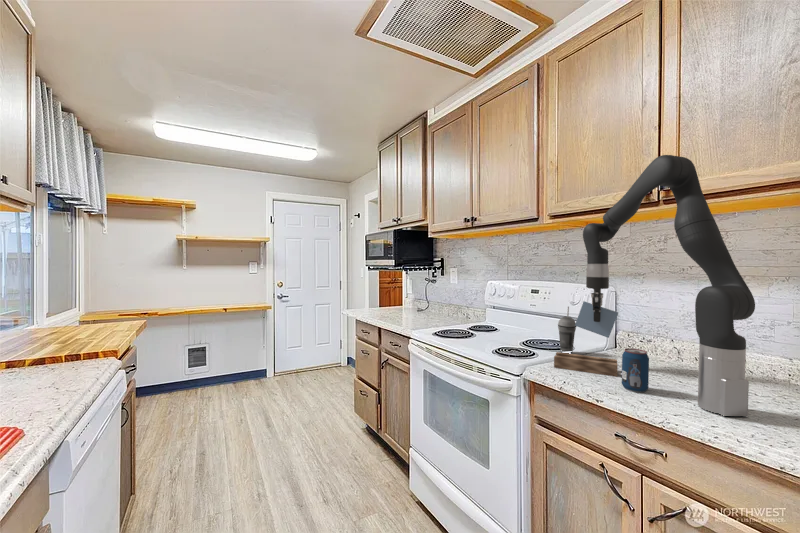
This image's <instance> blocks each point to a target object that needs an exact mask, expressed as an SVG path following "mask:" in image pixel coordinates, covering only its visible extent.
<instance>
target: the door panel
mask: <svg viewBox="0 0 800 533" xmlns="http://www.w3.org/2000/svg"><path fill="white" fill-rule="evenodd" d="M595 307H597V308H599V306H595ZM618 314H619V312H618V311H615V310H611V309H609V308H606V307H603V306H601V312H600V322H594V312H593V305H592V302H591V303H590V302H588V301H585V300H584V301H583V302H582V304H581V308H580V310H579V313H578V316H577V318H576V321H575V323H576V324H575V326H576V328H577V327H578V328H580V329H583V330H586V331H589V332H591V333H594V334H596V335H599V336H602V337H605V338H608V339H609V338H610V336H611V333H612V330H613V328H614V325H615V323H616V321H617V317H618Z"/></svg>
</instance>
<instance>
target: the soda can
mask: <svg viewBox="0 0 800 533" xmlns="http://www.w3.org/2000/svg"><path fill="white" fill-rule="evenodd" d="M649 373H650V357H649V355H648V352H647V351H646V350H643V349H639V348H630V347H629V348H624V351H623V353H622V354H621V385H622V386H623V388H624V389H625V390H626V391H630V392H633V393H640V394H641V393H645V392H647V390H648V388H649V381H650V380H649V379H650V378H649V377H650V376H649Z"/></svg>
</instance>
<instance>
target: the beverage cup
mask: <svg viewBox="0 0 800 533" xmlns="http://www.w3.org/2000/svg"><path fill="white" fill-rule="evenodd" d="M566 311H567V313H566V316H562V317H561V318H560V319H559V320H558V323H557V328H558V334H559V350H560V351H561V350H562V351H572V352H573V351H574V343H575V342H574V341H575V335H576V329H577V326H575V324H576V321H575V320H574V318H573V317H571V316H569V313H570V306H567V310H566Z"/></svg>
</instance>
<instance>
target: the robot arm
mask: <svg viewBox="0 0 800 533" xmlns="http://www.w3.org/2000/svg"><path fill="white" fill-rule="evenodd" d="M658 187H668V188H669V189H670V191H671V192H672V195H673V196H674V197H673V198H674V199H675V203H676V212H675V215H674V216H675V217H674V222H673V223H674V224H673V225H674V228H673V229H674V231H675V234H676V236H677V239H678V242H679V244H680V246H681V248H682V250H683V251H684V252H685V253H686V255H687V256H688V257H689V258H690V259H692V261H694V263H695V264H697V265H698V266H699V267H700V268H701V269H702V271H703V272H704V273H705V274H706V276H707V278H708V279H709V283H710V284H711V285H709V286H705V287H703V288H702V289H700V290H699V291H698V292H697V295H696V296H695V303H694V306H695V307H694V308H695V309H694V310H695V313H694V314H695V315H694V316H695V330H696V331H695V332H696V333H697V336H698V337H699V338H698V339H699V341H698V343H699V347H698V350H699V351H698V377H697V378H698V382H697V383H698V384H697V406H698V405H699V406H700V407H701V408H700V407H699V406H698V407H699V408H700V409H702V408H703V409H702V410H704V409H706V410H709V411H712V412H715V413H719V414H722V415H724V416H748V417H749V393H750V392H749V390H750V388H749V387H750V386H749V385H750V381H749V380H748V379H747V378H746V359H747V357H746V356H747V340H746V338H745V337H744V336H742V335H741V334H738V333H737V332H736V331H735V326H734V325H735V323H734V321H743V320H746V319H749V318H751V317H752V315H754V312H755V310H756V301H755V300H756V299H755V297H754V295H753V293H752V292H751V290H750V288H749V286H748V285H747V283H746V281H745V280H744V278H743V276H742V275H741V273H740V271H739V269H738V268H737V265H735V262H734V260H733V258H732V255H731V253H730V252H729V249H728V248H727V245H726V243H725V241H724V238H723V236H722V233H721V231H720V229H719V226H718V224H717V221H716V220H715V218H714V216H713V214H712V211H711V208H710V207H709V204H708V202H707V200H706V198H705V196H704V193H703V190H702V187H701V184H700V179H699V175H698V173H697V170H696V166H695V164H694V163H693V161H692V160H691V159H689V158H687V157H684V156H680V155H679V156H678V155H673V154H662V155H660V156H657V157H656V158H654V159H653V160H652V161H651V162H650V163H649V164H648V165H647V166H646V168H644V170H643V171H642V173H641V174H640V175H639V176H638V178H637V179H636V180H635V181H634V182H633V184H632V185H631V187H630V188H629V189H628V190H627V191H626V192H625V194H624V195H623V196H622V197H621V198H619V200H618V201H617V202H616V203H614V204H613V205H612V207H610V208H609V209H608V210H607V211H606V212H604V214H603V217H602V221H603V222H602V223H599V222H598V223H596V222H592V223H591V222H590V223H587V224H586V225H585V227H584V228H583V231H582V239H583V242H584V246H585V250H586V252H587V253H586V254H587V255H586V258H587V260H586V261H587V262H586V263H587V264H586V269H585V270H586V272H585V273H586V276H585V278H586V279H585V280H586V283H585V284H586V288H587V289H593V292H591V293H590V296H591V297H590V298H591V304H592V305H593V312H594V322H600V312H601V307H603V301H604V300H603V299H604V293H602V290H607V289H609V288H610V286H609V285H610V284H609V283H610V268H609V251H608V249H607V248H604V247H602V246H601V243H606V242H608V241H610V240H612V239H613V238H614V237H615V235H616V234H617V233H618V232H619V230H620V229H621V227H622V226H623V225H624V224H625V223H627V222H628V221H629V220H630V219H631V218H633V217H634V216H635V215H636V214H637V212H638V210H639V209H640V207H641V204H642V203H643V200H644V199H645V197H646V196H648V194H649V193H651V192H652V191H653V190H655V189H656V188H658ZM600 242H601V243H600ZM595 306H599V308H597V307H595ZM706 410H705V411H706ZM709 411H708V412H709ZM712 412H711V413H712ZM715 413H714V414H715ZM719 414H718V415H719ZM722 415H721V416H722ZM724 416H723V417H724Z"/></svg>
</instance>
